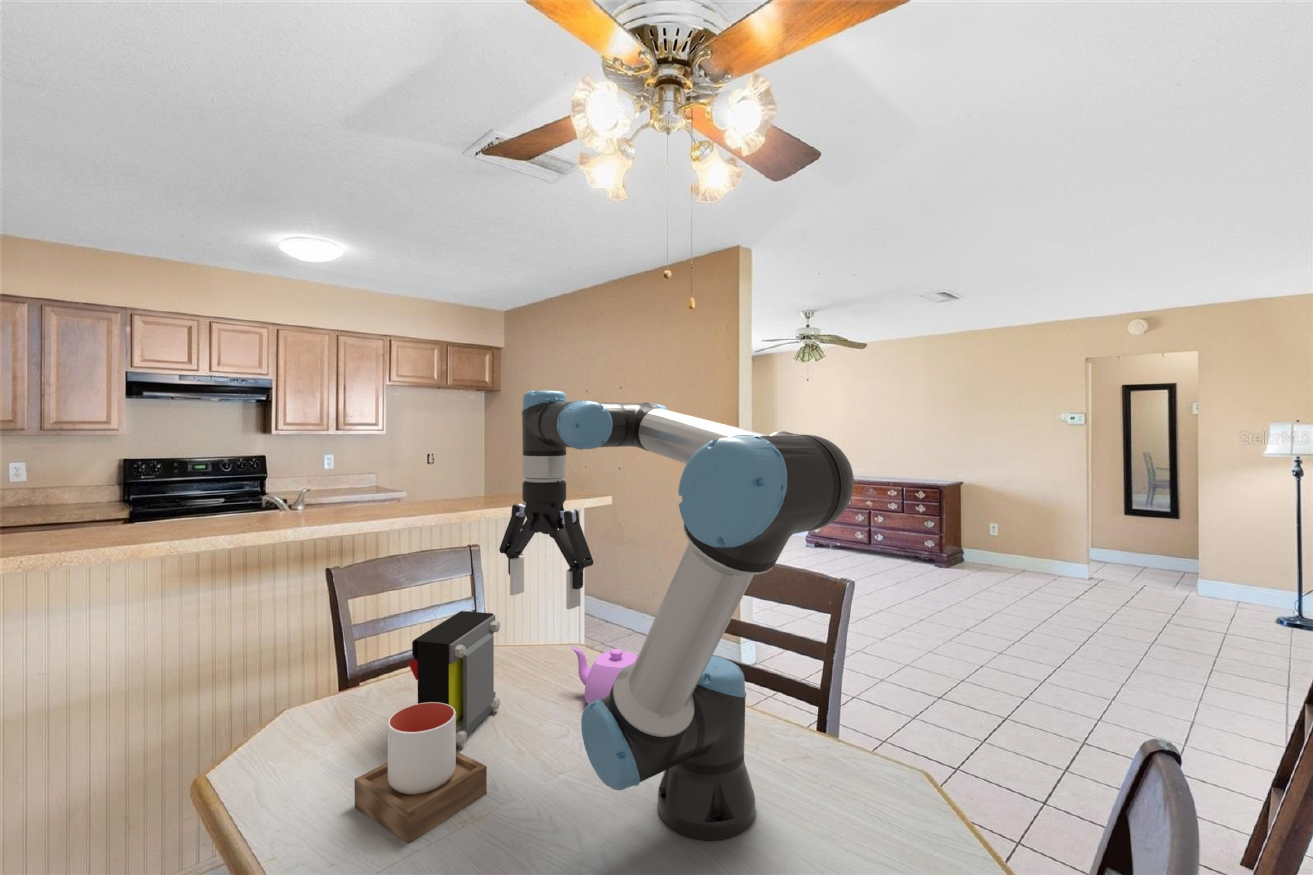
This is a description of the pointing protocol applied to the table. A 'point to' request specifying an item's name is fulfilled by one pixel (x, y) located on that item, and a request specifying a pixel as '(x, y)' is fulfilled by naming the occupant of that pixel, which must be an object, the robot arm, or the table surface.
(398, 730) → the cup
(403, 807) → the wooden tray
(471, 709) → the electrical component
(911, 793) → the table surface
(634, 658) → the teapot
